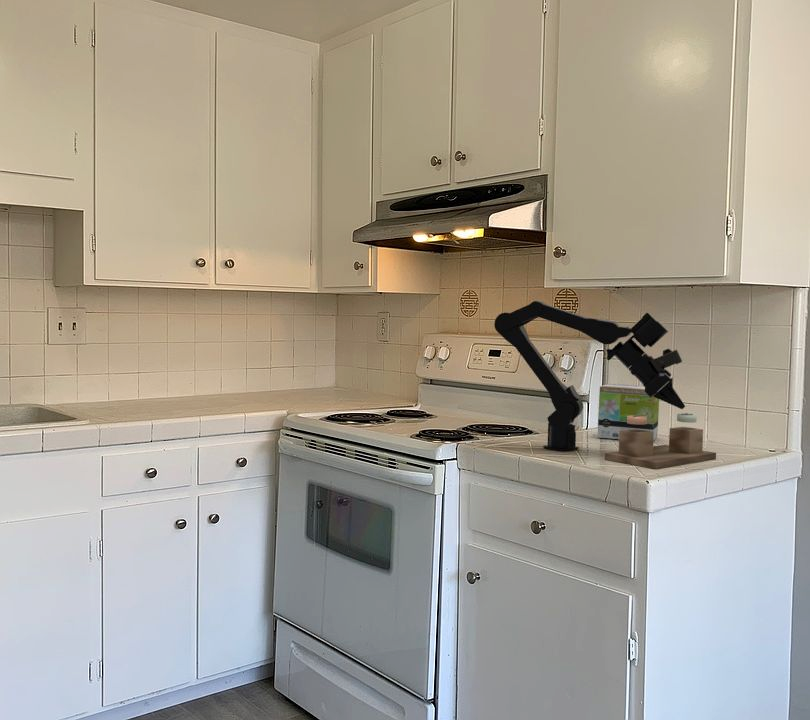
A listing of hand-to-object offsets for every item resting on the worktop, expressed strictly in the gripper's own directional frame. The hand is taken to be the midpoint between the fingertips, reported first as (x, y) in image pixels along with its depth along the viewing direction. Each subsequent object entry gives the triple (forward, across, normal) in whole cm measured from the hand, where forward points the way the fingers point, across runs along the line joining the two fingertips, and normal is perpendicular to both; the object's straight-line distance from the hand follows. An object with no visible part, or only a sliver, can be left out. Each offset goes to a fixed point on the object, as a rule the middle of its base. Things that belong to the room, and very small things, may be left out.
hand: (683, 407), depth 191 cm
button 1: (-5, -10, +9) cm, 14 cm away
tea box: (-2, +26, +19) cm, 32 cm away
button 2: (+3, 0, +2) cm, 3 cm away
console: (+5, -5, +12) cm, 14 cm away
